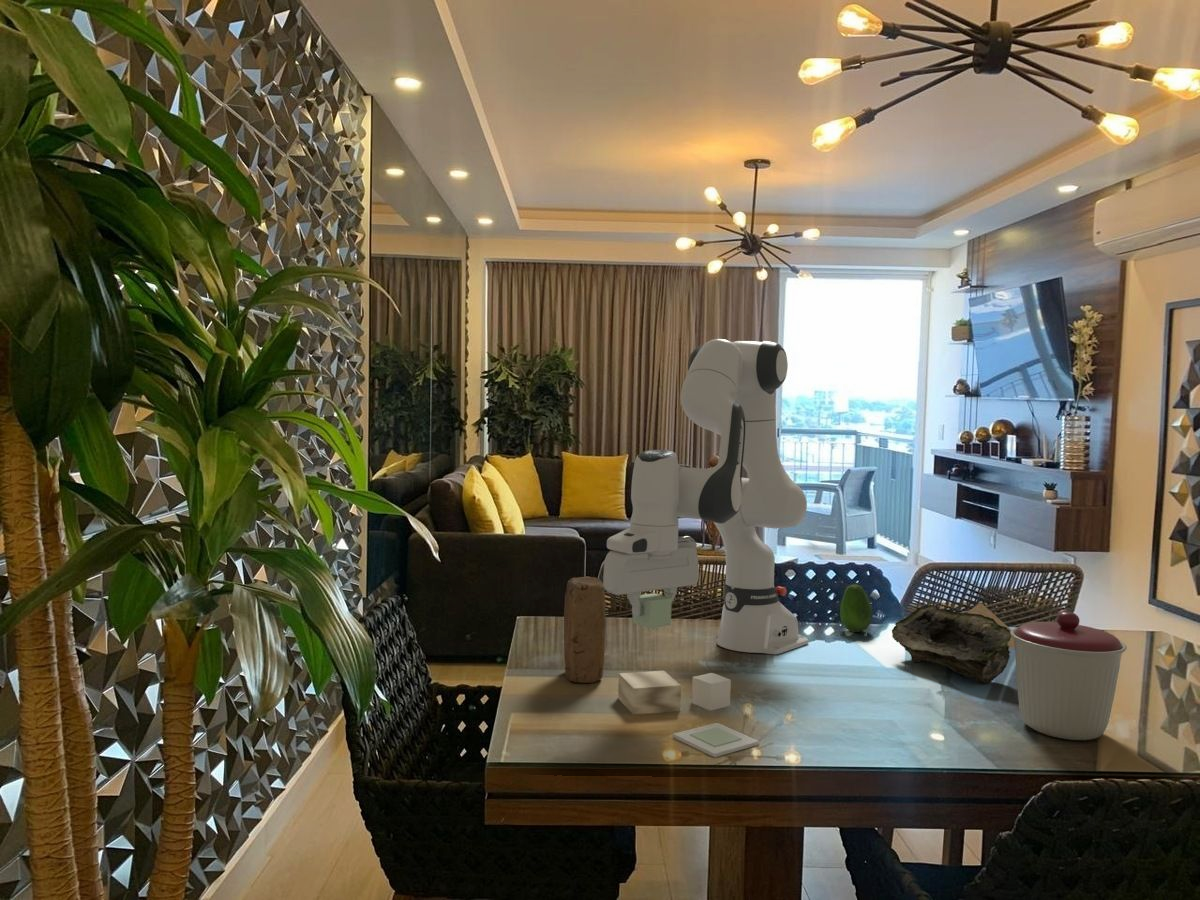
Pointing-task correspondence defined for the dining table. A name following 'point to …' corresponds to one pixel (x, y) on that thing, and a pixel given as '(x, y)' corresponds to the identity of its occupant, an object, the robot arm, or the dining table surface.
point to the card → (715, 739)
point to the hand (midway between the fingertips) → (651, 613)
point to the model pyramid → (987, 613)
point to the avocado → (855, 609)
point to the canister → (1066, 676)
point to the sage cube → (654, 611)
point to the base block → (649, 692)
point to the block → (584, 629)
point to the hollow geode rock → (955, 641)
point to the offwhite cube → (711, 691)
